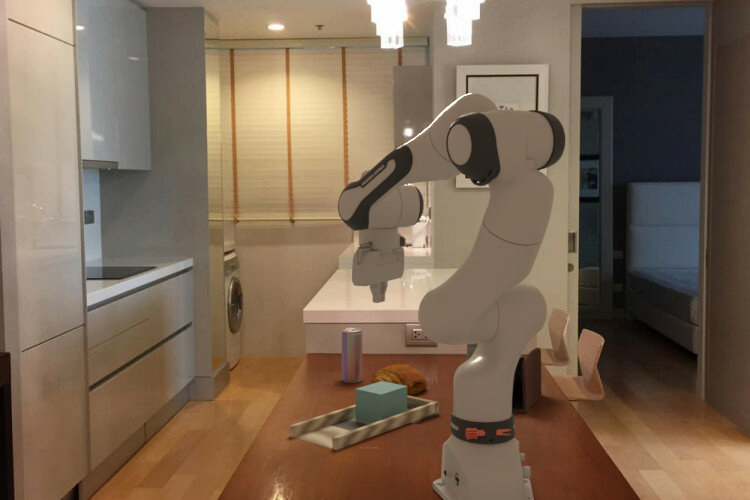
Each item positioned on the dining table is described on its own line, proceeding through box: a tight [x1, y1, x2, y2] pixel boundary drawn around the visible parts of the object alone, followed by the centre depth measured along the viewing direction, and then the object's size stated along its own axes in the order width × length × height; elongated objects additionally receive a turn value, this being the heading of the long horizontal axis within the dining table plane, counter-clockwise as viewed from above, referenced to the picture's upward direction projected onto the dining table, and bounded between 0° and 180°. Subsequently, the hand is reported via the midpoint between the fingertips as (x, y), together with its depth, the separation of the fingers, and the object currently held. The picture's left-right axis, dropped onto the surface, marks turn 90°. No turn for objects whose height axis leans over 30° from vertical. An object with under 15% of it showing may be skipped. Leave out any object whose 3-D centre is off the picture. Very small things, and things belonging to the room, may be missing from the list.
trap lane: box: [288, 395, 440, 451], centre depth 195 cm, size 38×14×3 cm, turn 140°
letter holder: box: [512, 347, 543, 415], centre depth 215 cm, size 10×20×14 cm, turn 157°
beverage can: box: [341, 327, 363, 384], centre depth 238 cm, size 6×6×15 cm
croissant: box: [371, 363, 428, 396], centre depth 228 cm, size 14×16×8 cm
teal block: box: [355, 381, 407, 423], centre depth 200 cm, size 10×8×8 cm
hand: (378, 302), depth 186 cm, fingers closed
